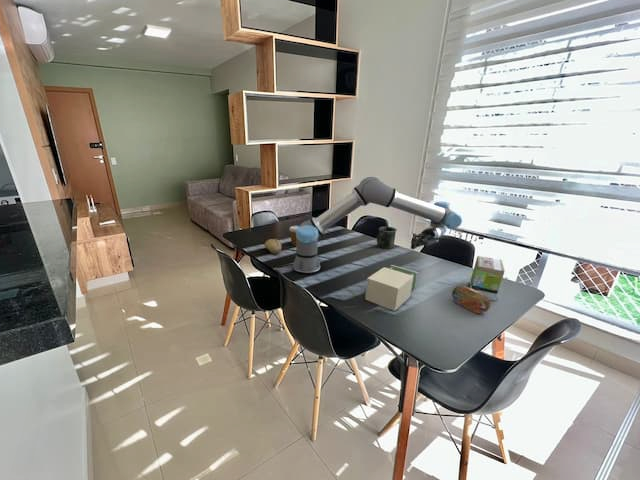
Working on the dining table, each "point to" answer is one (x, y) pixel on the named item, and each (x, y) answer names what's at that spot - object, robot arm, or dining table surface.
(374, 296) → the cream foam cube
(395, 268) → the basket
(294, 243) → the disposable coffee cup
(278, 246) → the bread roll
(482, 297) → the orange brown snack packet
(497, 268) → the tea box
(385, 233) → the mug
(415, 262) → the dining table surface
